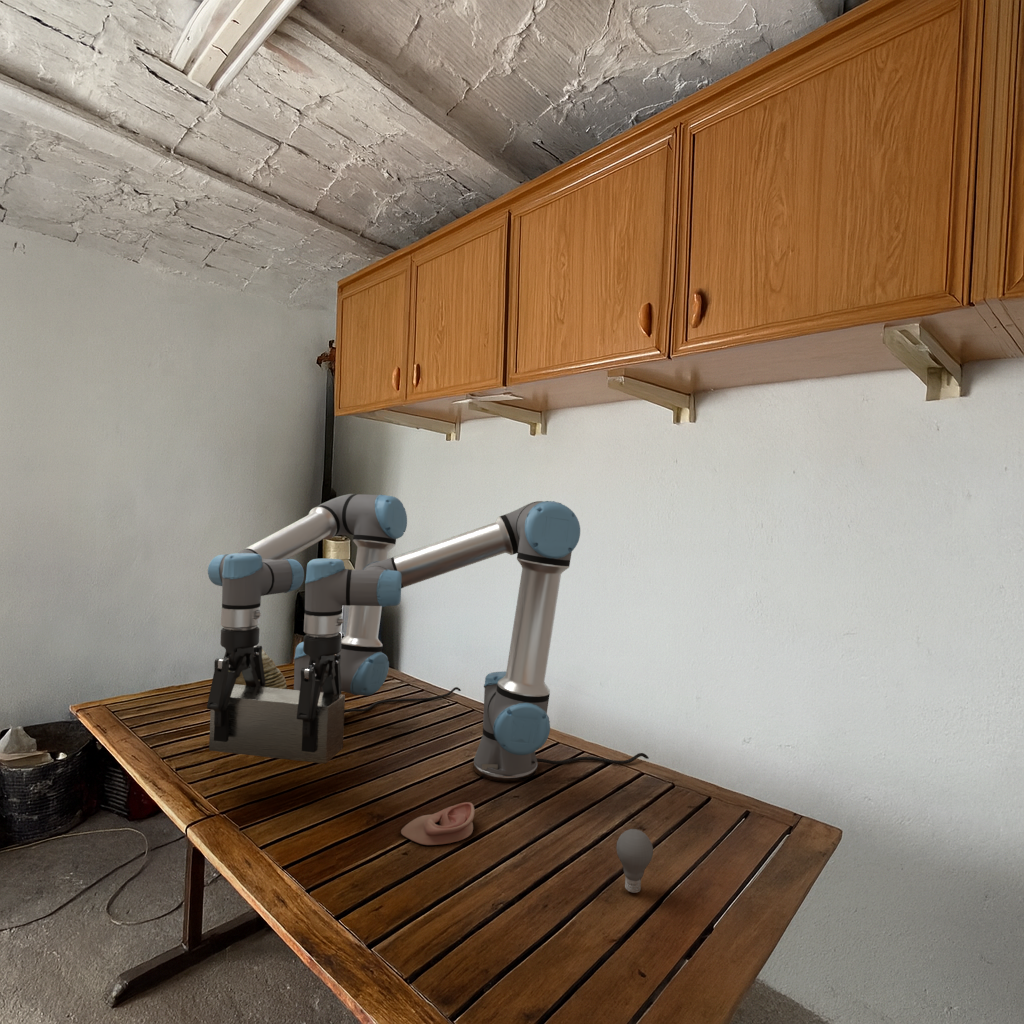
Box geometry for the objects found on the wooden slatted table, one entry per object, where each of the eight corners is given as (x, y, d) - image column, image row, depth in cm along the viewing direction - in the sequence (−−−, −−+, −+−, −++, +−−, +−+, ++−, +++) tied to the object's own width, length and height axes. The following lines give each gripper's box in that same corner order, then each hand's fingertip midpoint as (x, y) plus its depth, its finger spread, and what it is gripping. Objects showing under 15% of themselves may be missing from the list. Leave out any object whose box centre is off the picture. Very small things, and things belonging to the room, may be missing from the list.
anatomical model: (395, 819, 118) (416, 792, 129) (394, 840, 118) (415, 811, 129) (464, 829, 115) (479, 801, 126) (463, 851, 115) (479, 820, 126)
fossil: (218, 695, 195) (220, 647, 195) (278, 685, 208) (279, 640, 207) (228, 703, 189) (230, 653, 188) (289, 692, 201) (290, 645, 201)
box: (208, 750, 131) (210, 695, 130) (232, 736, 139) (234, 684, 139) (325, 763, 127) (328, 706, 126) (343, 748, 135) (345, 694, 135)
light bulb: (610, 879, 108) (613, 822, 108) (644, 879, 109) (647, 822, 109) (619, 902, 102) (622, 840, 102) (655, 901, 103) (658, 840, 103)
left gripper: (224, 639, 122) (220, 753, 122) (284, 618, 144) (280, 715, 145) (188, 636, 123) (185, 749, 123) (253, 616, 145) (250, 712, 146)
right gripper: (316, 646, 120) (312, 765, 120) (359, 625, 141) (356, 726, 141) (279, 643, 121) (275, 761, 121) (328, 623, 142) (324, 723, 142)
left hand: (236, 731), depth 134 cm, fingers open, 10 cm apart
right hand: (319, 742), depth 131 cm, fingers closed on box, 8 cm apart
